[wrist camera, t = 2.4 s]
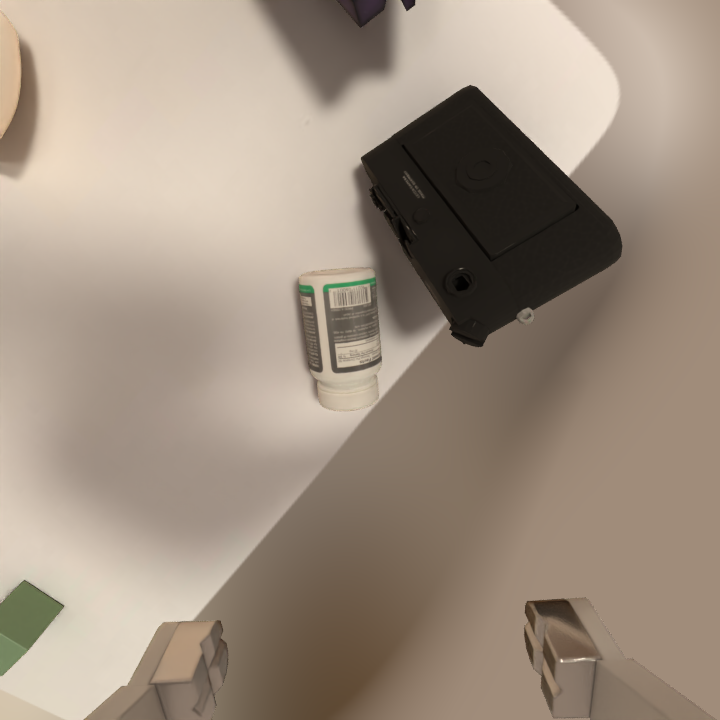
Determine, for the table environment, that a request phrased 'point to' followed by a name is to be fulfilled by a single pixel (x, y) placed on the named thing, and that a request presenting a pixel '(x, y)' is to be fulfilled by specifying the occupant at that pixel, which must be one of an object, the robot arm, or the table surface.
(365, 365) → the pill bottle
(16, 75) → the cup
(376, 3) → the crystal
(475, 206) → the camera
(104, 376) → the table surface
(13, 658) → the block sage
